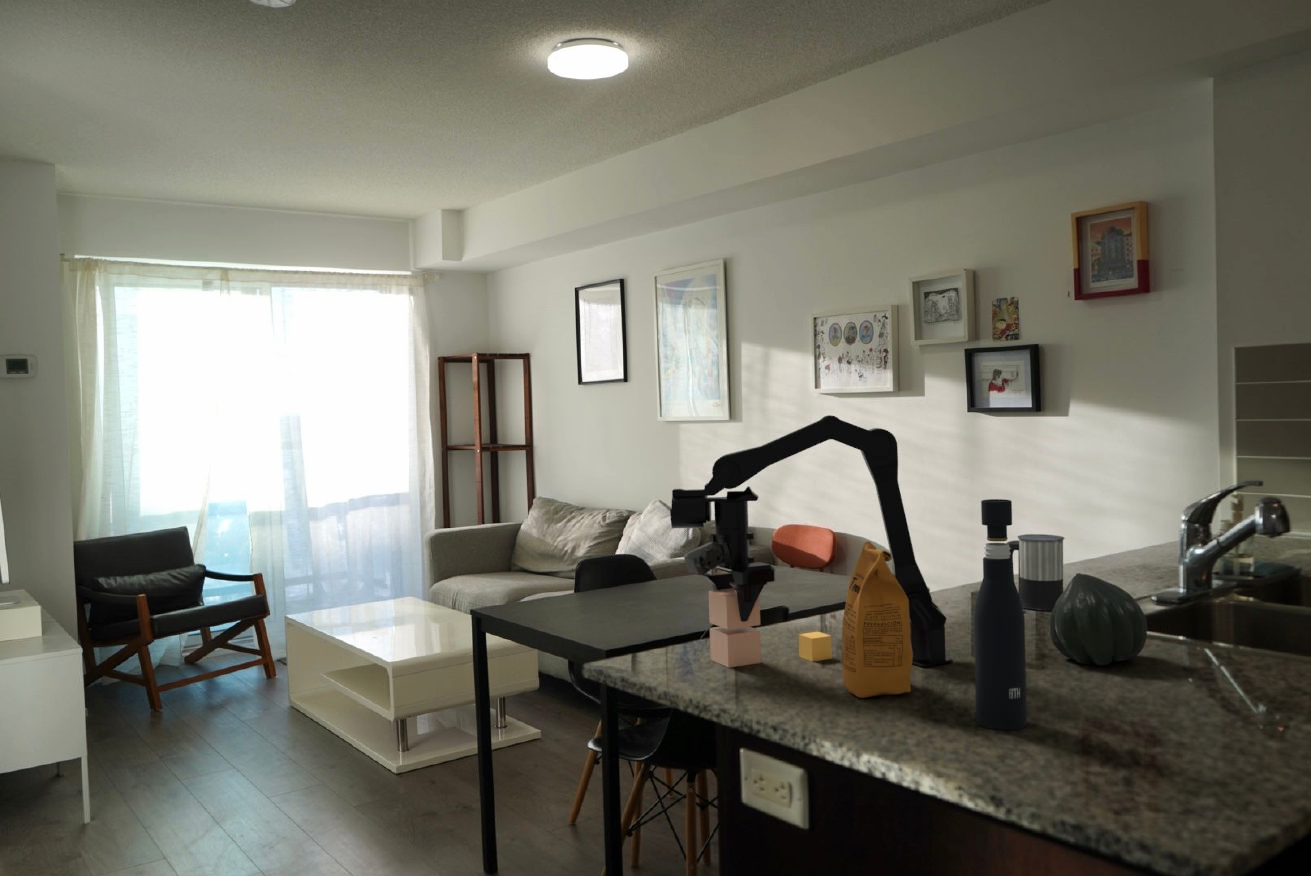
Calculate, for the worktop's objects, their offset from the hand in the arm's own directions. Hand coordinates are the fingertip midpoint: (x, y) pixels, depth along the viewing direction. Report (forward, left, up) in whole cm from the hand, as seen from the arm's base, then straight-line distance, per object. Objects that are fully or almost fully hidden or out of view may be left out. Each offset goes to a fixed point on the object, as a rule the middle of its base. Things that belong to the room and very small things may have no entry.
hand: (734, 617), depth 173 cm
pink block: (0, 0, -8) cm, 8 cm away
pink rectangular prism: (0, 0, -1) cm, 1 cm away
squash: (-31, -51, -8) cm, 60 cm away
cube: (-5, -13, -8) cm, 16 cm away
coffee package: (-26, -10, -8) cm, 29 cm away
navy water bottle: (-48, -14, -8) cm, 51 cm away
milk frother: (+6, -72, -8) cm, 73 cm away
